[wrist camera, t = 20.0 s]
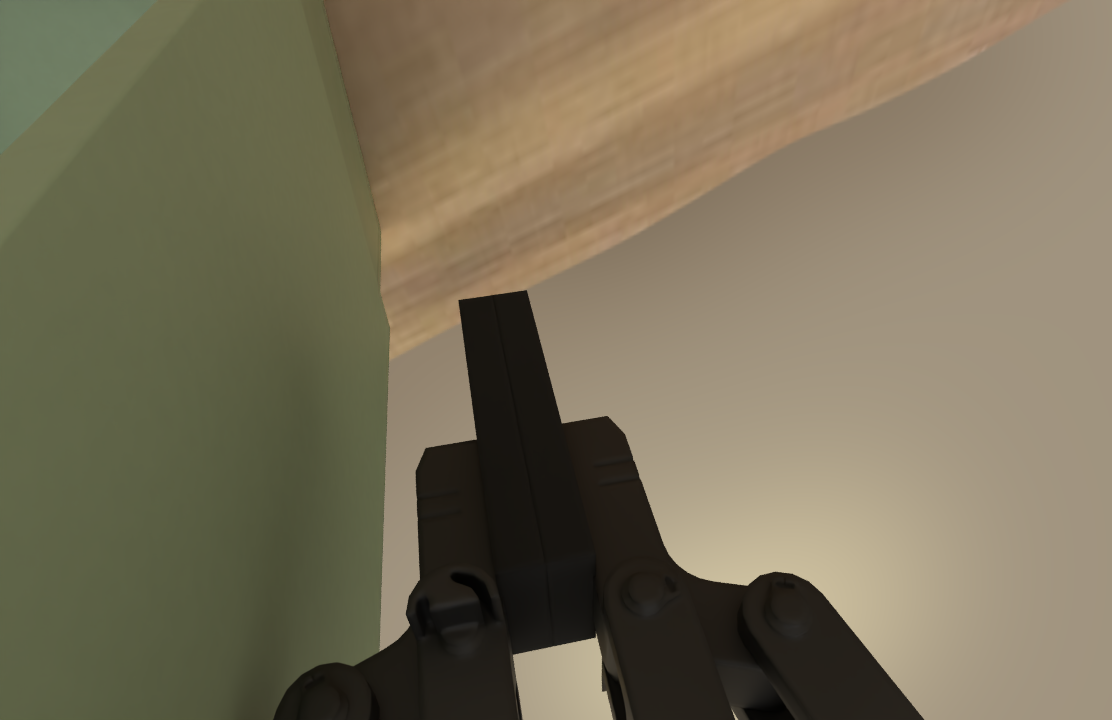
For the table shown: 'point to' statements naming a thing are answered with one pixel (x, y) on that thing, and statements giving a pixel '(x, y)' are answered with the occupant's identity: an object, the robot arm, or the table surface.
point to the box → (93, 27)
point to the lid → (187, 380)
